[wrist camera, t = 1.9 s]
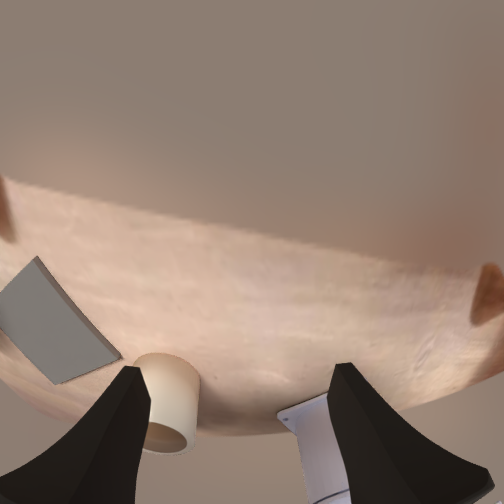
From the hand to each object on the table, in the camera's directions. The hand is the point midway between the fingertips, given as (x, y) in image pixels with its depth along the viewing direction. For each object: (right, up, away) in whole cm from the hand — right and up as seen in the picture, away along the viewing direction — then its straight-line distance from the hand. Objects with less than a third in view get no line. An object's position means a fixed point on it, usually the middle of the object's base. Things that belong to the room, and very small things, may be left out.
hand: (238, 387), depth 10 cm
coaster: (-15, -1, +8) cm, 17 cm away
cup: (-6, -4, +10) cm, 12 cm away
